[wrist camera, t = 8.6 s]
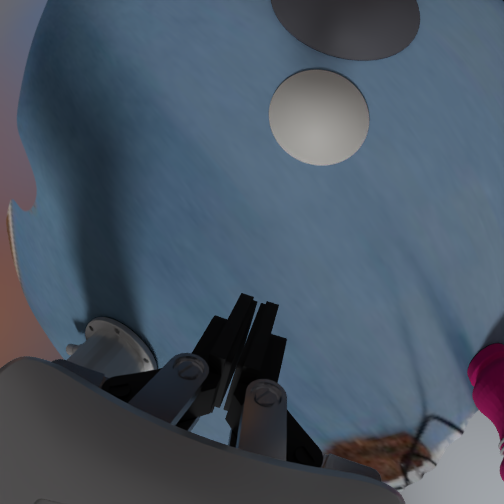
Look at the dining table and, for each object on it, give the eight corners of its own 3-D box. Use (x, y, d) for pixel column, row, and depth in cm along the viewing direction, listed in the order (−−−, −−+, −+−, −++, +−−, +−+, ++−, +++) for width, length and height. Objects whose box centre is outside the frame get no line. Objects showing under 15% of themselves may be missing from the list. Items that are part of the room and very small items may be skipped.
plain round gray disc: (279, 171, 23) (279, 172, 22) (260, 79, 20) (259, 79, 20) (376, 159, 20) (376, 159, 20) (356, 65, 18) (357, 64, 17)
